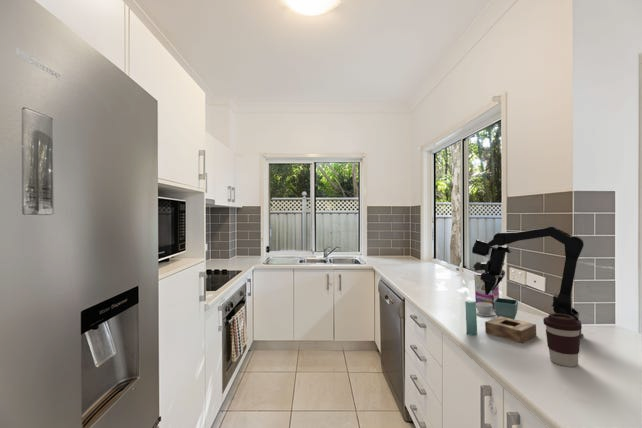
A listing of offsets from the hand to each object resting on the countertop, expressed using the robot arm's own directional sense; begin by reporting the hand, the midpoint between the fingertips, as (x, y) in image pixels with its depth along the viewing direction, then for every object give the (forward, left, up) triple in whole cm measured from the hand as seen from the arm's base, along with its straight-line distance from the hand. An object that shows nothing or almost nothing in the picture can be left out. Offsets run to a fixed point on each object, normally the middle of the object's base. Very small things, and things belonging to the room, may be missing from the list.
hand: (489, 292), depth 143 cm
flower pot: (-4, -7, -14) cm, 16 cm away
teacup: (+8, -10, -14) cm, 19 cm away
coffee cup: (-35, +21, -14) cm, 43 cm away
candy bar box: (+14, -24, -14) cm, 31 cm away
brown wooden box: (-13, +9, -13) cm, 20 cm away
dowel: (-3, +20, -13) cm, 24 cm away
